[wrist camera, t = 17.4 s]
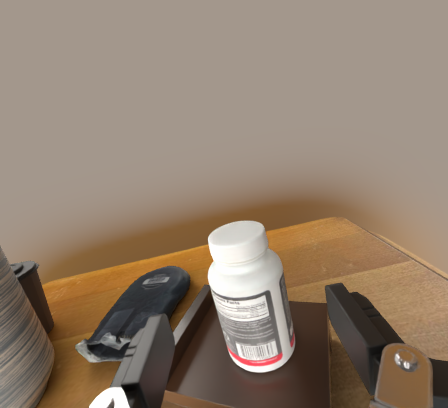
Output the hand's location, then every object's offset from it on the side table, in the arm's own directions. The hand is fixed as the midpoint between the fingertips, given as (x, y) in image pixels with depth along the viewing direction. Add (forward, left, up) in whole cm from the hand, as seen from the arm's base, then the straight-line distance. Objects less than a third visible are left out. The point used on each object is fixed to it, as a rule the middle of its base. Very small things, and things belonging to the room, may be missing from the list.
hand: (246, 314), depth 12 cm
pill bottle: (+2, -5, -8) cm, 9 cm away
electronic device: (+19, -11, -12) cm, 25 cm away
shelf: (+3, -5, -12) cm, 13 cm away
